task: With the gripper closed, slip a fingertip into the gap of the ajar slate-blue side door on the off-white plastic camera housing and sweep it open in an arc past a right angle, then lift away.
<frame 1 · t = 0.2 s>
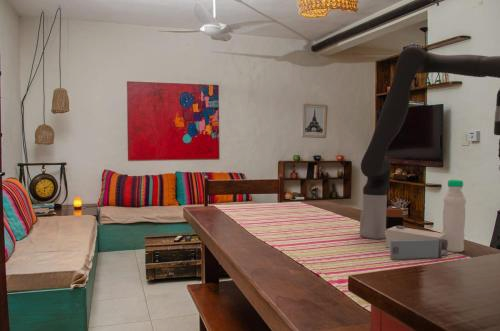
side door: (416, 249, 131), point 3 cm above the table, hinge at 50.0°
water bottle: (452, 250, 143), on the table
housing: (414, 249, 143), on the table
battery: (393, 229, 178), on the table
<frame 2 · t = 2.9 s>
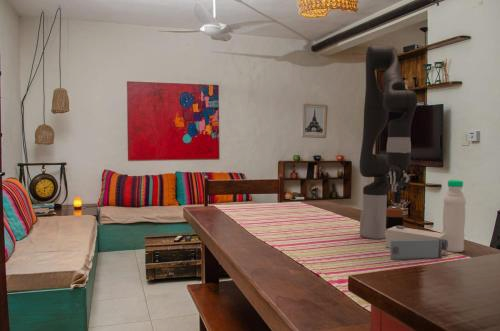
hand: (396, 203, 134), 18 cm above the table, fingers closed
nothing on the table moved.
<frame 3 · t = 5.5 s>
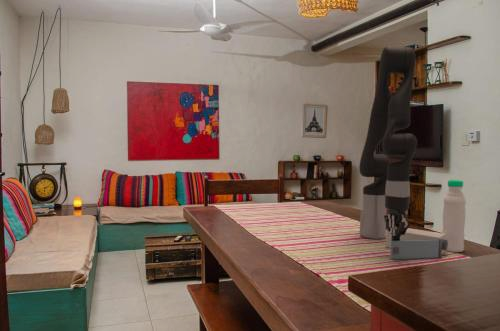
hand: (395, 246, 133), 4 cm above the table, fingers closed
side door: (417, 249, 131), point 3 cm above the table, hinge at 50.6°, touching gripper
everything else where it was.
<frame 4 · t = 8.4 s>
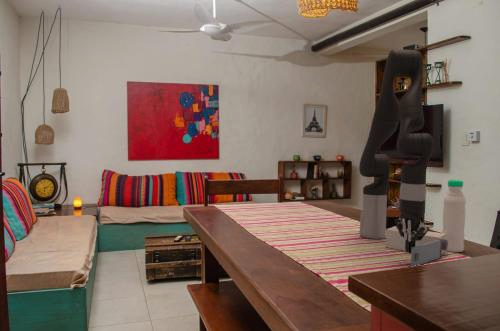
hand: (409, 252, 126), 3 cm above the table, fingers closed
side door: (427, 252, 127), point 3 cm above the table, hinge at 79.9°, touching gripper
everything else where it was.
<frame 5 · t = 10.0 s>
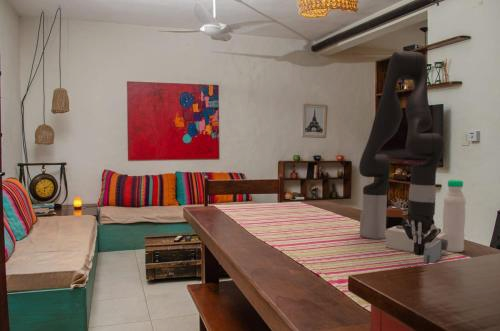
hand: (418, 254, 123), 3 cm above the table, fingers closed
side door: (433, 253, 126), point 3 cm above the table, hinge at 92.5°, touching gripper
everything else where it was.
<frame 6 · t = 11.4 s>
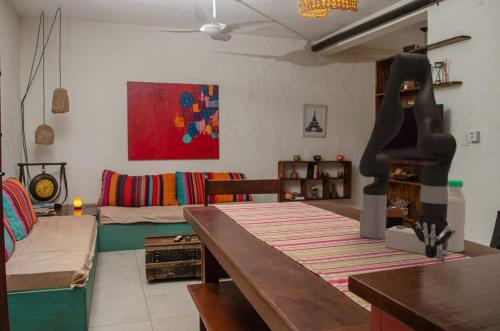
hand: (430, 257, 121), 3 cm above the table, fingers closed
side door: (441, 254, 125), point 3 cm above the table, hinge at 106.4°, touching gripper
everything else where it was.
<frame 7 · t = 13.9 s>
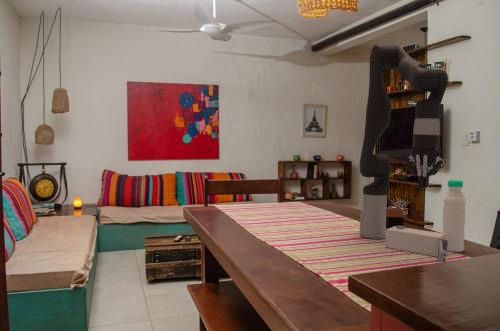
hand: (423, 188, 128), 23 cm above the table, fingers closed
side door: (441, 254, 125), point 3 cm above the table, hinge at 107.3°
everything else where it was.
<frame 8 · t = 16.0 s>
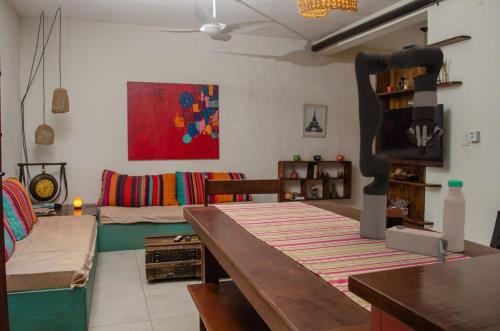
hand: (422, 157, 137), 33 cm above the table, fingers closed
nothing on the table moved.
at the end: side door at +107° (first picture: +50°) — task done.
